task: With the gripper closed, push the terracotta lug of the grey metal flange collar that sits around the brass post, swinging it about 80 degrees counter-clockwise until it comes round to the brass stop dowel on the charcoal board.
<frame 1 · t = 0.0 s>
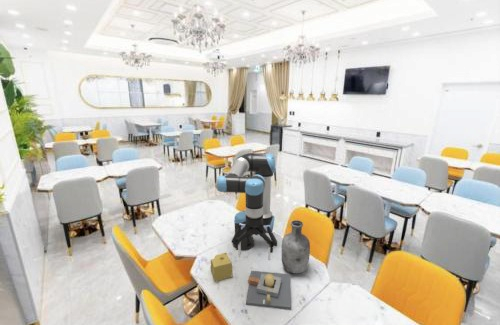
hand: (254, 257, 106), 28 cm above the table, fingers open, 13 cm apart
cheese: (221, 274, 134), on the table
flange: (263, 283, 123), point 3 cm above the table, hinge at 0.0°
jig: (269, 289, 123), on the table
vase: (294, 268, 139), on the table
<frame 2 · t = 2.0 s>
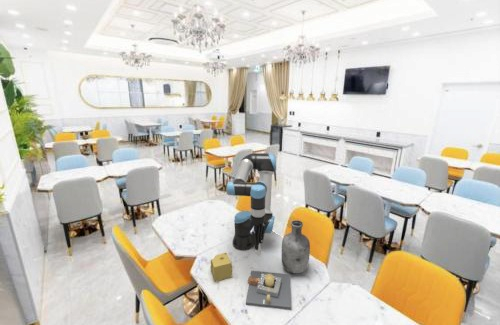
hand: (257, 253, 127), 16 cm above the table, fingers closed
nothing on the table moved.
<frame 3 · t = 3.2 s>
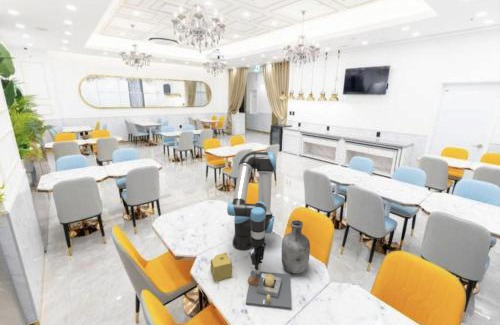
hand: (257, 273, 131), 3 cm above the table, fingers closed
nothing on the table moved.
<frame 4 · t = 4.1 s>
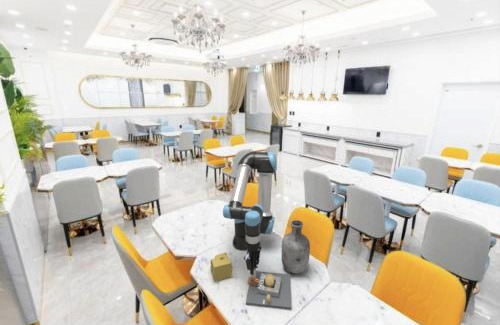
hand: (253, 278, 127), 3 cm above the table, fingers closed
flange: (263, 283, 123), point 3 cm above the table, hinge at 2.4°, touching gripper
everything else where it was.
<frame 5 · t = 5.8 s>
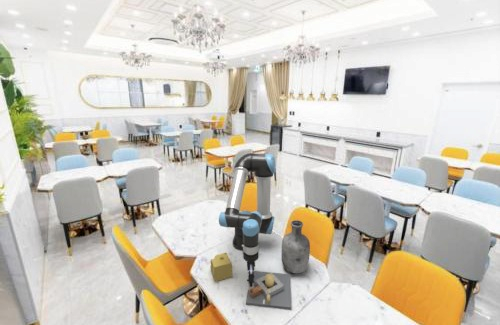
hand: (250, 289, 120), 3 cm above the table, fingers closed
flange: (264, 287, 121), point 3 cm above the table, hinge at 48.5°, touching gripper
everything else where it was.
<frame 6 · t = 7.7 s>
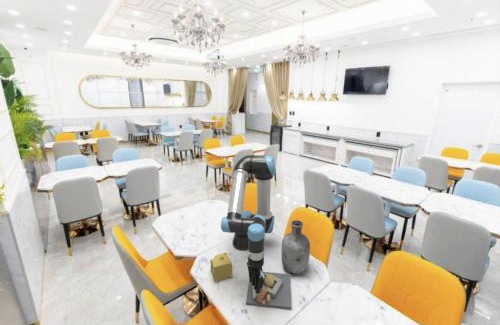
hand: (255, 296, 115), 3 cm above the table, fingers closed
flange: (266, 288, 120), point 3 cm above the table, hinge at 77.3°, touching gripper
everything else where it was.
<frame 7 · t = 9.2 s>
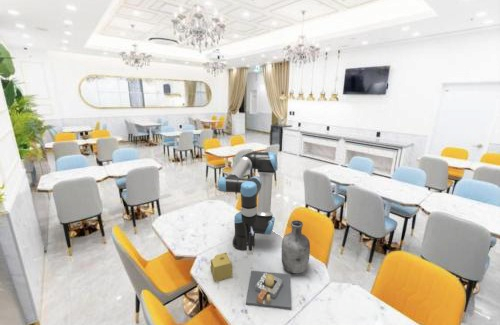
hand: (249, 254, 119), 21 cm above the table, fingers closed
flange: (266, 288, 120), point 3 cm above the table, hinge at 77.3°
everything else where it was.
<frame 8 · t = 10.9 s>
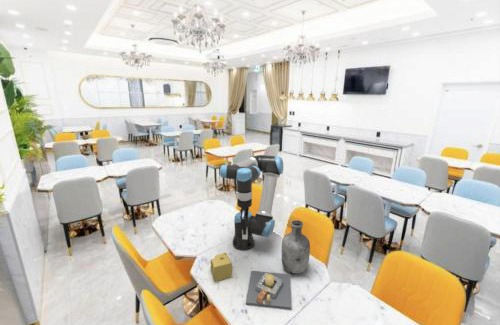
hand: (245, 238, 126), 24 cm above the table, fingers closed
nothing on the table moved.
at the end: flange at +77° (first picture: +0°) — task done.
